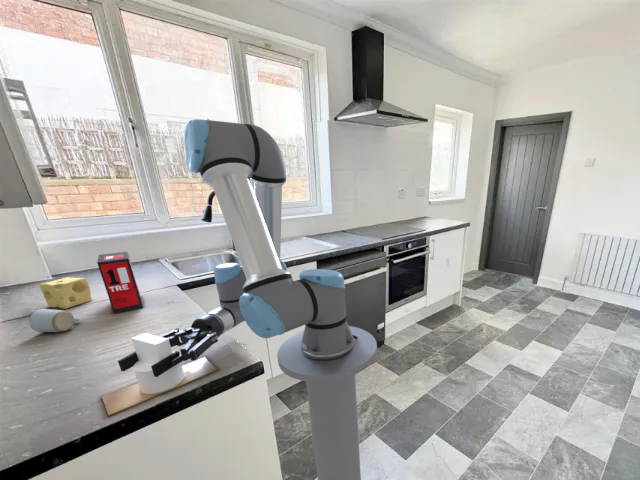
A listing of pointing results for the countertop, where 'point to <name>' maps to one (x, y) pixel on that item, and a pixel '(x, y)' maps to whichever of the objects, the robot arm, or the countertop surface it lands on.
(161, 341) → the cylinder with rectangular tab
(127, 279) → the cleaning product box
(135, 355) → the robot arm
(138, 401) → the tan rectangular plate
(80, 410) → the countertop surface
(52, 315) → the ceramic mug
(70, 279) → the cheese
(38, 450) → the countertop surface
